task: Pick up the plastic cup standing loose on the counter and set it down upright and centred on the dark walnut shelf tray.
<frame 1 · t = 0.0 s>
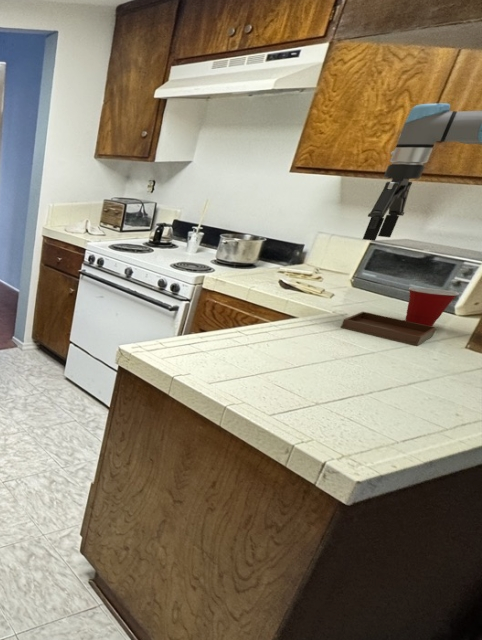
hand: (376, 238, 143), 27 cm above the counter, tool pointing down, fingers open, 13 cm apart
plastic cup: (416, 325, 151), on the counter
shelf tray: (385, 331, 144), on the counter
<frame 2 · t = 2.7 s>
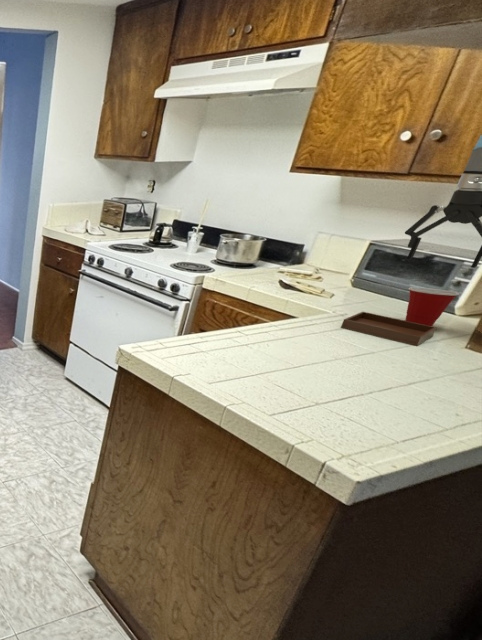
hand: (440, 262, 143), 20 cm above the counter, tool pointing down, fingers open, 13 cm apart
nothing on the counter moved.
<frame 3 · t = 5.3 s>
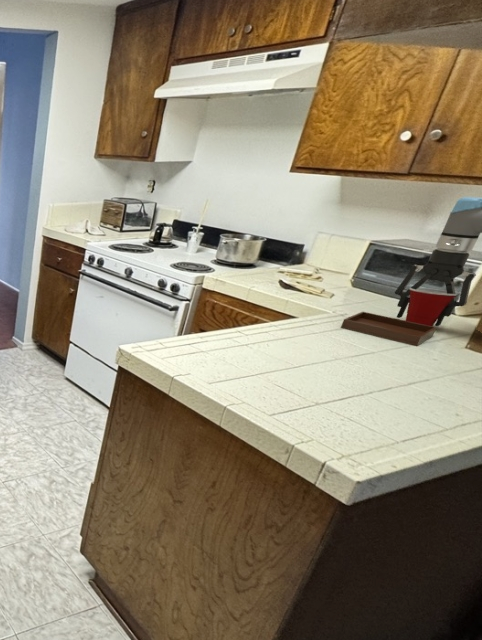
hand: (417, 320, 150), 1 cm above the counter, tool pointing down, fingers closed on plastic cup, 8 cm apart
plastic cup: (416, 325, 151), on the counter, touching gripper
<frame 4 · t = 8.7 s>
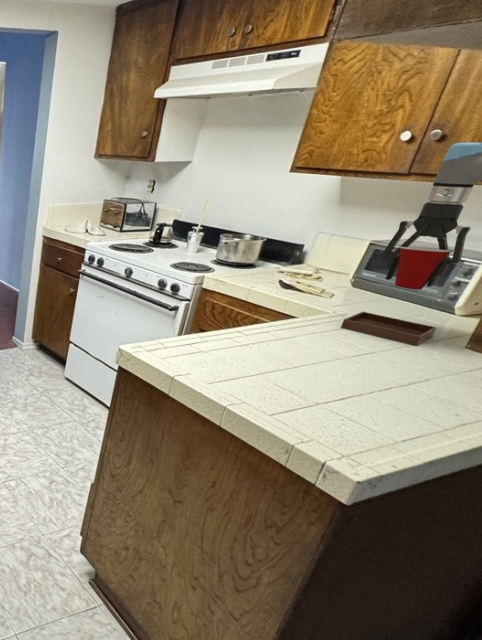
hand: (408, 282, 138), 16 cm above the counter, tool pointing down, fingers closed on plastic cup, 8 cm apart
plastic cup: (407, 287, 139), point 14 cm above the counter, touching gripper
when the fingers open (2 cm above the counter, at t = 12.1 s): plastic cup stays where it is, resting on shelf tray.
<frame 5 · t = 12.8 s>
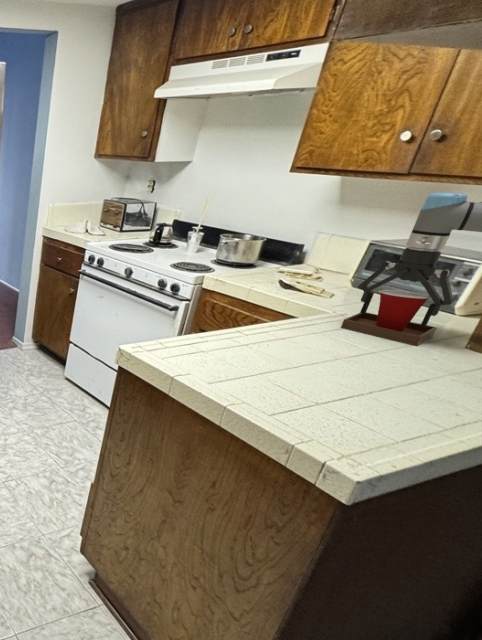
hand: (392, 318, 143), 4 cm above the counter, tool pointing down, fingers open, 13 cm apart
plastic cup: (387, 330, 144), point 1 cm above the counter, touching shelf tray
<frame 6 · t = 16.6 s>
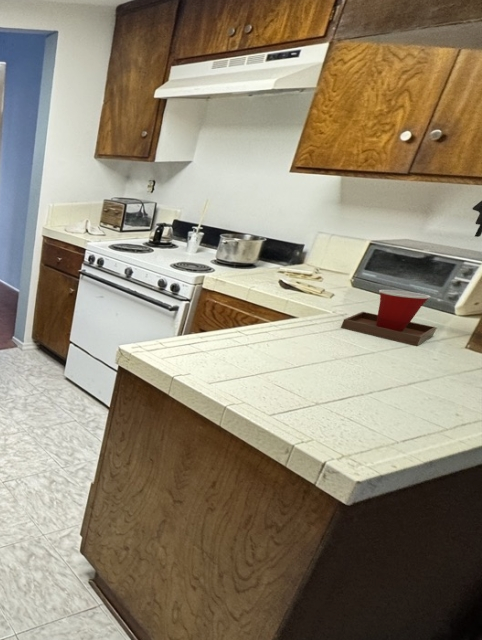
nothing on the counter moved.
at the end: plastic cup 0.2 cm off-centre in the shelf tray, point 0.6 cm above the shelf tray's base; plastic cup tilted 0°; the gripper is holding nothing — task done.
